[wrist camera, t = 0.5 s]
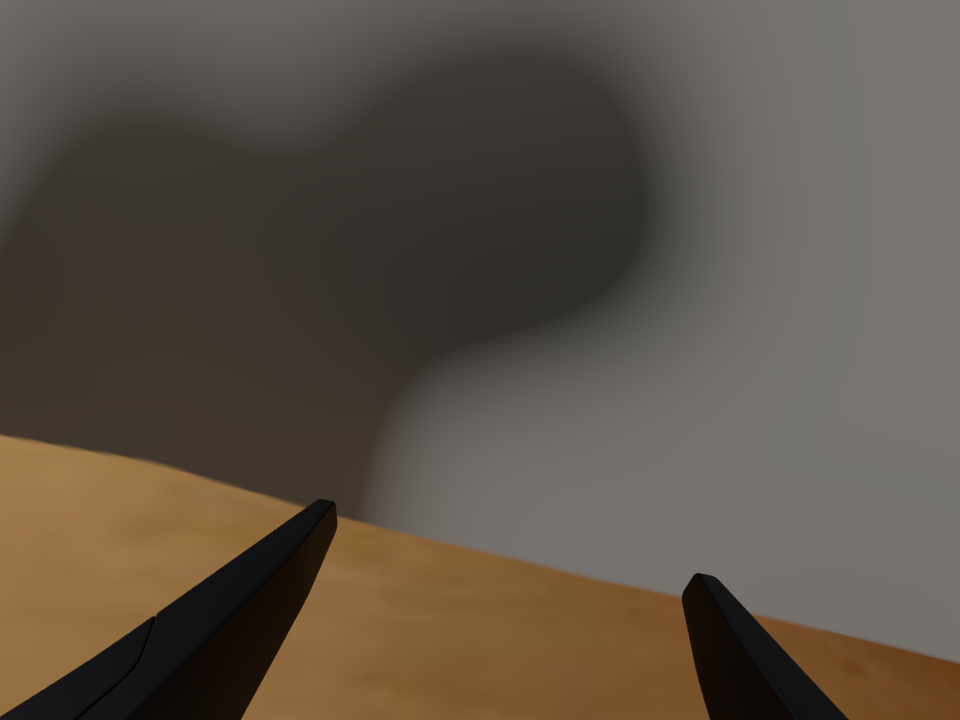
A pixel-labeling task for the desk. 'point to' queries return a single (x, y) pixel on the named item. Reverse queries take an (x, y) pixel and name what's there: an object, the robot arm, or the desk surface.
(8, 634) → the desk surface
